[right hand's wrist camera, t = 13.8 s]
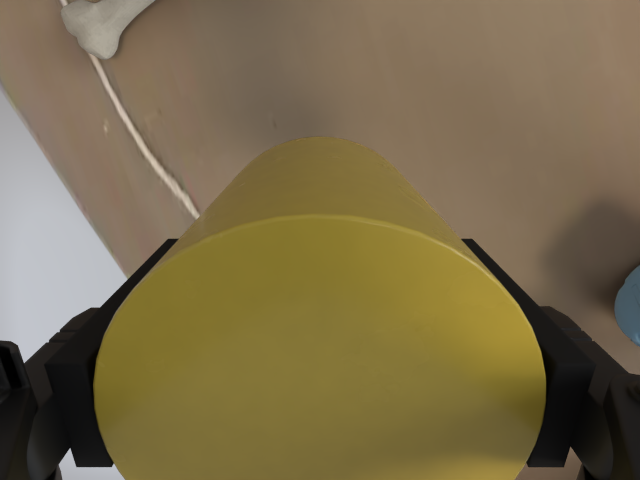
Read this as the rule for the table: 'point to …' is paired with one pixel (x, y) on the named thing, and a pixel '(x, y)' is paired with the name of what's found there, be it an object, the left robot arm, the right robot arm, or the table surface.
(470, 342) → the canister
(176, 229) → the table surface
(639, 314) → the left robot arm
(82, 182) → the table surface
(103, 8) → the dog toy
